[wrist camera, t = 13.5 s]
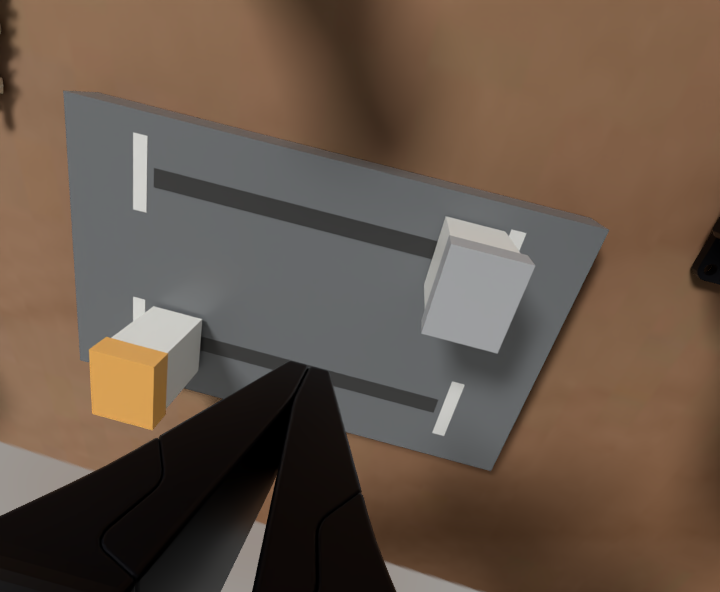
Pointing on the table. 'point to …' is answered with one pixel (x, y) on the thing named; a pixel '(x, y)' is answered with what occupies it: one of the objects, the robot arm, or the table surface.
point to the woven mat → (0, 80)
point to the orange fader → (144, 367)
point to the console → (307, 269)
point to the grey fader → (473, 285)
